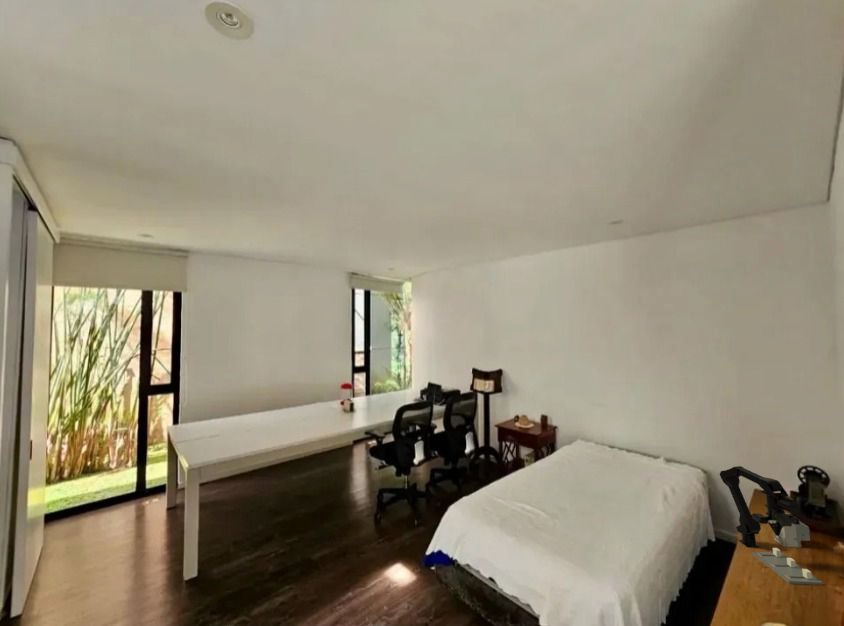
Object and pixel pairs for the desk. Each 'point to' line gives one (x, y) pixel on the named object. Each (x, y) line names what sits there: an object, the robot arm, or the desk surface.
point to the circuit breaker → (793, 535)
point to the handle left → (777, 552)
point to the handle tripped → (807, 574)
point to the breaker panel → (785, 569)
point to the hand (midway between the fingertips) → (777, 535)
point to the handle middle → (791, 562)
